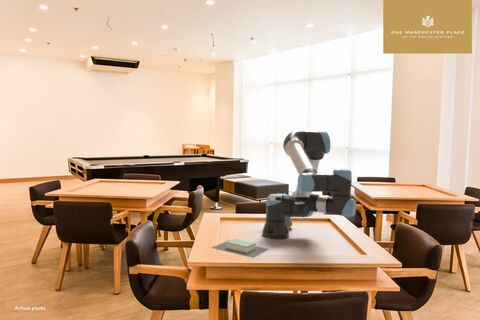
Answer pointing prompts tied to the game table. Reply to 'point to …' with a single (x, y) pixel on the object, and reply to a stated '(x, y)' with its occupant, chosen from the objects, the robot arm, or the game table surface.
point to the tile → (241, 245)
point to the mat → (249, 254)
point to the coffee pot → (288, 220)
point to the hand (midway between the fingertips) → (270, 197)
